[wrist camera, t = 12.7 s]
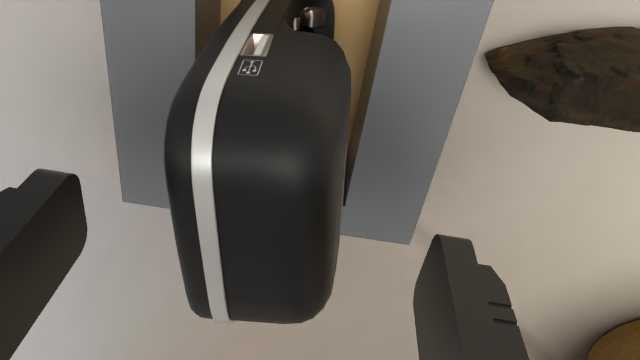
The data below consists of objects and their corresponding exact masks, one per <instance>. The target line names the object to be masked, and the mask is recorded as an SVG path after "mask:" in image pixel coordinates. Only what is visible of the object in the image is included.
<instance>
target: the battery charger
mask: <svg viewBox="0 0 640 360" xmlns="http://www.w3.org/2000/svg"><path fill="white" fill-rule="evenodd" d="M334 26H335V12H334V4H333V1H332V0H241V1H240V3H239V4H238V5H237V7H236V8H235V9H234V10H233V11H232V12H231V13H230V15H229V16H228V17H227V18H226V19H225V21H224V22H223V23H222V24H221V25H220V27H219V28H218V29H217V30H216V32H215V33H214V34H213V36H212V37H211V39H210V40H209V41H208V43H207V44H206V45H205V47H204V48H203V50H202V51H201V53H200V54H199V56H198V57H197V59H196V61H195V62H194V64H193V65H192V67H191V68H190V70H189V71H188V73H187V75H186V76H185V78H184V80H183V81H182V83H181V85H180V86H179V88H178V90H177V92H176V94H175V96H174V99H173V101H172V103H171V106H170V110H169V113H168V116H167V120H166V127H165V134H164V170H165V179H166V186H167V192H168V198H169V204H170V210H171V216H172V222H173V228H174V234H175V240H176V245H177V250H178V255H179V260H180V265H181V270H182V275H183V280H184V285H185V290H186V295H187V298H188V302H189V305H190V307H191V309H192V310H193V312H194V313H195V314H197V315H198V316H199V317H203V318H210V319H213V320H214V321H215V322H217V323H230V324H231V323H234V322H235V320H237V321H251V322H265V323H279V324H291V323H302V322H304V321H307V320H309V319H312V318H313V317H315V316H316V315H317V314H318V313H319V312H320V311H321V310H322V309H323V308H324V306H325V304H326V302H327V301H328V299H329V297H330V295H331V292H332V287H333V282H334V276H335V271H336V264H337V256H338V248H339V239H340V230H341V219H342V206H343V193H344V180H345V167H346V154H347V141H348V128H349V115H350V104H351V69H350V67H349V65H348V62H347V60H346V57H345V54H344V51H343V50H342V48H341V47H340V46H339V45H338V43H337V42H336V41H334Z"/></svg>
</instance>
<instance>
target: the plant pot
mask: <svg viewBox="0 0 640 360" xmlns="http://www.w3.org/2000/svg"><path fill="white" fill-rule="evenodd" d="M587 360H640V320H637V321H633V322H630V323H627V324H624V325H622V326H620V327H617V328H615V329H614V330H612V331H610V332H609V333H607V334H605V335H604V336H603V337H601V338H600V339H599V340H598V341H597V342H596V343H595V344H594V345H593V347H592V348H591V350H590V352H589V355H588V359H587Z"/></svg>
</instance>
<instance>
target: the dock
mask: <svg viewBox="0 0 640 360" xmlns="http://www.w3.org/2000/svg"><path fill="white" fill-rule="evenodd" d="M240 1H241V0H100V5H101V14H102V23H103V32H104V41H105V50H106V58H107V67H108V76H109V85H110V94H111V103H112V111H113V120H114V129H115V138H116V147H117V156H118V164H119V173H120V182H121V191H122V200H123V202H130V203H136V204H143V205H149V206H156V207H162V208H169V209H170V204H169V198H168V192H167V186H166V179H165V170H164V134H165V127H166V120H167V116H168V113H169V110H170V106H171V103H172V101H173V99H174V96H175V94H176V92H177V90H178V88H179V86H180V85H181V83H182V81H183V80H184V78H185V76H186V75H187V73H188V71H189V70H190V68H191V67H192V65H193V64H194V62H195V61H196V59H197V57H198V56H199V54H200V53H201V51H202V50H203V48H204V47H205V45H206V44H207V43H208V41H209V40H210V39H211V37H212V36H213V34H214V33H215V32H216V30H217V29H218V28H219V27H220V25H221V24H222V23H223V22H224V21H225V19H226V18H227V17H228V16H229V15H230V13H231V12H232V11H233V10H234V9H235V8H236V7H237V5H238V4H239V3H240ZM332 1H333V4H334V12H335V26H334V41H336V42H337V43H338V45H339V46H340V47H341V48H342V50H343V51H344V54H345V57H346V60H347V62H348V65H349V67H350V69H351V104H350V115H349V128H348V141H347V154H346V167H345V180H344V193H343V206H342V219H341V230H340V235H346V236H353V237H359V238H366V239H373V240H379V241H386V242H392V243H399V244H405V245H409V244H410V241H411V238H412V235H413V233H414V230H415V227H416V224H417V221H418V218H419V215H420V212H421V209H422V207H423V204H424V201H425V198H426V195H427V192H428V189H429V186H430V183H431V181H432V178H433V175H434V172H435V169H436V166H437V163H438V160H439V157H440V155H441V152H442V149H443V146H444V143H445V140H446V137H447V134H448V132H449V129H450V126H451V123H452V120H453V117H454V114H455V111H456V108H457V106H458V103H459V100H460V97H461V94H462V91H463V88H464V85H465V82H466V80H467V77H468V74H469V71H470V68H471V65H472V62H473V59H474V56H475V54H476V51H477V48H478V45H479V42H480V39H481V36H482V33H483V30H484V28H485V25H486V22H487V19H488V16H489V13H490V10H491V7H492V4H493V2H494V0H332Z"/></svg>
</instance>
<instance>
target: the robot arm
mask: <svg viewBox="0 0 640 360" xmlns="http://www.w3.org/2000/svg"><path fill="white" fill-rule="evenodd" d="M86 237H87V223H86V216H85V210H84V204H83V198H82V191H81V185H80V180H79V178H78V176H77V175H75V174H71V173H65V172H58V171H52V170H46V169H37V170H35V171H34V172H33V173H32V174H31V175H30V176H29V177H28V178H27V179H26V180H25V181H24V182H23V183H22V184H21V185H20V186H19V187H18V188H11V187H9V188H7V189H5V190H3V191H1V192H0V360H10V358H11V357H12V355H13V354H14V352H15V351H16V349H17V348H18V346H19V345H20V343H21V342H22V340H23V339H24V337H25V336H26V334H27V333H28V331H29V330H30V328H31V327H32V325H33V324H34V322H35V321H36V319H37V318H38V316H39V315H40V313H41V312H42V310H43V309H44V307H45V306H46V304H47V303H48V302H49V300H50V299H51V297H52V296H53V294H54V293H55V291H56V290H57V288H58V287H59V285H60V284H61V282H62V281H63V279H64V278H65V276H66V275H67V273H68V272H69V270H70V269H71V267H72V266H73V264H74V263H75V261H76V260H77V258H78V257H79V255H80V254H81V252H82V250H83V248H84V245H85V242H86ZM413 306H414V316H415V325H416V334H417V343H418V352H419V360H529V358H528V354H527V351H526V348H525V345H524V342H523V339H522V336H521V333H520V329H519V326H517V320H516V317H515V314H514V311H513V309H511V306H512V305H511V301H510V298H509V295H508V292H507V289H506V286H505V284H504V283H503V282H502V280H501V279H500V278H499V276H498V275H497V274H496V273H495V271H494V270H493V269H492V267H491V266H487V265H481V264H478V263H477V259H476V255H475V252H474V248H473V245H472V242H471V241H470V240H469V239H463V238H457V237H451V236H445V235H439V234H436V235H435V236H434V238H433V240H432V242H431V245H430V247H429V250H428V252H427V255H426V258H425V260H424V263H423V265H422V268H421V271H420V273H419V276H418V279H417V281H416V285H415V290H414V301H413Z"/></svg>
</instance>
